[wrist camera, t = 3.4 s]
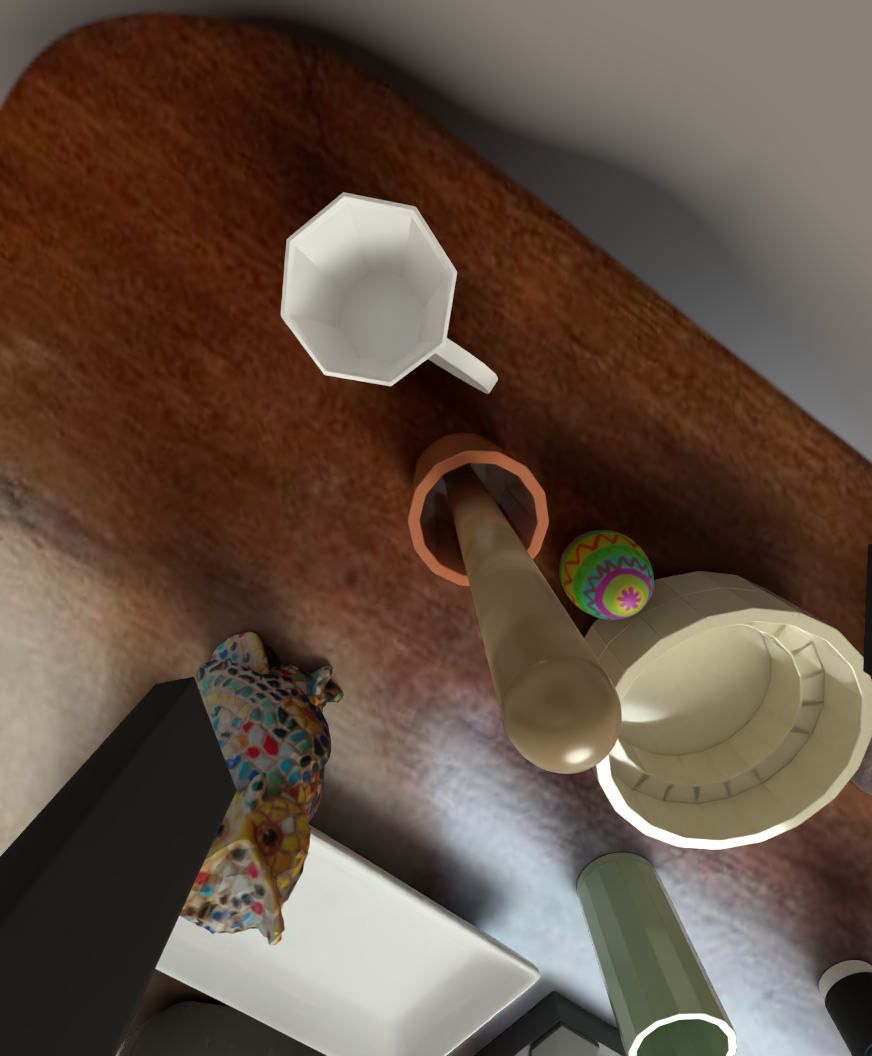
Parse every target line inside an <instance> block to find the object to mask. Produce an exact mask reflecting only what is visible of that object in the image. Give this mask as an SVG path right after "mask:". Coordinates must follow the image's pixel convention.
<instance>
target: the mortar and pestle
mask: <svg viewBox="0 0 872 1056" xmlns="http://www.w3.org/2000/svg"><path fill="white" fill-rule="evenodd" d="M850 780H851V781H852V782H853V783H854V784H855V785H856V786H857V787H858V788H860V789H861V790H862V791H864V792H866V793H868V794H870V795H871V796H872V738H871V740H870V743H869V745H868V747H867V750H866V752H865V755H864V757H863V759H862V762H861V764H860V766H859V769H858V770H857V771H856V773H855V774H854V775H853V776H852V777H851V779H850Z"/></svg>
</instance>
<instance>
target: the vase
mask: <svg viewBox="0 0 872 1056" xmlns="http://www.w3.org/2000/svg"><path fill="white" fill-rule="evenodd" d="M577 894H578V897H579V901H580V906H581V909H582V913H583V916H584V919H585V922H586V926H587V929H588V932H589V935H590V939H591V942H592V945H593V949H594V952H595V955H596V958H597V962H598V965H599V968H600V971H601V975H602V978H603V981H604V984H605V988H606V991H607V994H608V997H609V1001H610V1004H611V1007H612V1010H613V1014H614V1017H615V1020H616V1023H617V1027H618V1030H619V1033H620V1036H621V1040H622V1043H623V1046H624V1050H625V1053H626V1056H734V1054H735V1052H736V1050H737V1046H736V1033H735V1031H734V1029H733V1026H732V1024H731V1022H730V1020H729V1018H728V1016H727V1014H726V1012H725V1010H724V1008H723V1006H722V1004H721V1002H720V1000H719V998H718V996H717V994H716V992H715V990H714V988H713V985H712V983H711V981H710V979H709V977H708V975H707V973H706V971H705V969H704V967H703V965H702V963H701V961H700V959H699V957H698V955H697V953H696V951H695V949H694V947H693V944H692V942H691V940H690V938H689V936H688V934H687V932H686V930H685V928H684V926H683V924H682V922H681V920H680V918H679V916H678V914H677V912H676V910H675V908H674V906H673V903H672V901H671V899H670V897H669V895H668V893H667V891H666V889H665V887H664V885H663V883H662V881H661V879H660V877H659V876H658V875H657V873H656V871H655V869H654V867H653V866H652V865H651V863H650V862H648V861H647V860H646V859H644V858H643V857H641V856H639V855H636V854H632V853H624V852H622V853H612V854H608V855H605V856H602V857H600V858H598V859H596V860H594V861H593V862H591V863H590V864H589V865H588V866H587V867H586V868H585V869H584V870H583V871H582V873H581V874H580V876H579V879H578V882H577Z"/></svg>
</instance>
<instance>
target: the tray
mask: <svg viewBox="0 0 872 1056" xmlns="http://www.w3.org/2000/svg"><path fill="white" fill-rule="evenodd" d="M309 827H310V829H311V835H310V845H309V850H308V855H307V858H306V860H305V862H304V868H303V873H302V874H301V876H300V878H299V880H298V881H297V883H296V885H295V888H294V890H293V892H292V893H291V895H290V896H289V899H288V900H287V901H286V902H285V903H284V904H283V907H282V909H281V912H282V917H283V919H284V928H285V930H284V931H283V932H282V933H281V935H282V939H281V941H280V942H278V943H277V944H276V945H269V943H268V939H267V937H263V935H262V934H261V933H260V931H259V930H258V929H248V930H245V931H242V932H237V933H234V934H231V933H228V932H227V933H219V934H218V933H217V932H216V933H214V934H212V933H211V932H210V931H208V930H206V929H205V928H204V927H199V926H197V925H196V924H195V923H192V922H189V921H187V920H186V919H184V918H182V917H180V916H179V918H178V920H177V922H176V924H175V926H174V929H173V931H172V933H171V935H170V937H169V940H168V942H167V944H166V946H165V948H164V950H163V953H162V955H161V957H160V959H159V961H158V964H157V966H156V968H155V969H157V970H159V971H161V972H163V973H165V974H167V975H169V976H171V977H173V978H175V979H177V980H179V981H181V982H183V983H185V984H187V985H189V986H191V987H193V988H195V989H197V990H199V991H201V992H203V993H205V994H207V995H209V996H211V997H213V998H215V999H217V1000H219V1001H221V1002H223V1003H225V1004H227V1005H229V1006H231V1007H233V1008H235V1009H237V1010H239V1011H241V1012H243V1013H245V1014H247V1015H249V1016H251V1017H253V1018H255V1019H257V1020H259V1021H260V1022H262V1023H264V1024H266V1025H268V1026H270V1027H272V1028H274V1029H276V1030H278V1031H280V1032H282V1033H284V1034H286V1035H288V1036H290V1037H291V1038H293V1039H295V1040H297V1041H299V1042H301V1043H303V1044H305V1045H307V1046H309V1047H311V1048H313V1049H315V1050H317V1051H319V1052H321V1053H323V1054H325V1055H327V1056H446V1055H447V1054H449V1053H450V1052H451V1051H452V1050H454V1049H455V1048H456V1047H457V1046H458V1045H460V1044H461V1043H462V1042H463V1041H465V1040H466V1039H467V1038H468V1037H470V1036H471V1035H472V1034H473V1033H475V1032H476V1031H477V1030H478V1029H480V1028H481V1027H482V1026H483V1025H484V1024H486V1023H487V1022H488V1021H489V1020H490V1019H491V1018H493V1017H494V1016H495V1015H496V1014H497V1013H499V1012H500V1011H501V1010H503V1009H504V1008H505V1007H506V1006H508V1005H509V1004H510V1003H512V1002H513V1001H514V1000H515V999H517V998H518V997H519V996H520V995H521V994H523V993H524V992H525V991H526V990H527V989H529V988H530V987H531V986H532V985H533V984H534V983H535V982H536V981H537V980H538V979H539V977H540V972H539V970H538V968H537V967H536V966H535V965H533V964H532V963H531V962H529V961H528V960H526V959H525V958H523V957H522V956H520V955H519V954H518V953H516V952H515V951H513V950H512V949H510V948H508V947H507V946H505V945H504V944H502V943H501V942H499V941H497V940H496V939H494V938H493V937H491V936H490V935H488V934H486V933H485V932H483V931H482V930H480V929H478V928H477V927H475V926H473V925H472V924H470V923H468V922H467V921H465V920H463V919H462V918H460V917H459V916H457V915H455V914H454V913H452V912H450V911H449V910H447V909H445V908H444V907H442V906H441V905H439V904H437V903H436V902H434V901H433V900H431V899H429V898H428V897H426V896H425V895H423V894H422V893H420V892H418V891H417V890H415V889H414V888H412V887H410V886H409V885H407V884H405V883H404V882H402V881H401V880H399V879H397V878H396V877H394V876H393V875H391V874H389V873H388V872H386V871H384V870H383V869H381V868H380V867H378V866H376V865H375V864H373V863H372V862H370V861H368V860H367V859H365V858H363V857H362V856H360V855H359V854H357V853H355V852H354V851H352V850H350V849H349V848H347V847H345V846H344V845H342V844H341V843H339V842H337V841H336V840H334V839H332V838H331V837H329V836H327V835H326V834H324V833H322V832H321V831H319V830H317V829H316V828H314V827H312V826H310V825H309Z"/></svg>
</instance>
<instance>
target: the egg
mask: <svg viewBox="0 0 872 1056" xmlns="http://www.w3.org/2000/svg"><path fill="white" fill-rule="evenodd" d="M559 575H560V580H561V584H562V587H563V589H564V591H565V593H566V594H567V596H568V597H569V598H570V600H571V601H572V602H573V603H574V604H575V605H576V606H577V607H578V608H580V609H581V610H583V611H584V612H586V613H588V614H590V615H592V616H594V617H597V618H601V619H606V620H620V619H625V618H628V617H631V616H633V615H635V614H637V613H638V612H639V611H641V610H642V609H643V608H644V607H645V605H646V604H647V603H648V601H649V599H650V597H651V595H652V592H653V586H654V576H653V570H652V567H651V564H650V561H649V559H648V557H647V556H646V554H645V553H644V551H643V550H642V549H641V547H640V546H639V545H638V544H637V543H635V542H634V541H633V540H632V539H630V538H629V537H627V536H625V535H623V534H621V533H618V532H615V531H611V530H592V531H588V532H585V533H583V534H581V535H579V536H577V537H576V538H575V539H573V540H572V541H571V542H570V543H569V544H568V546H567V547H566V548H565V550H564V552H563V554H562V557H561V560H560V565H559Z"/></svg>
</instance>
